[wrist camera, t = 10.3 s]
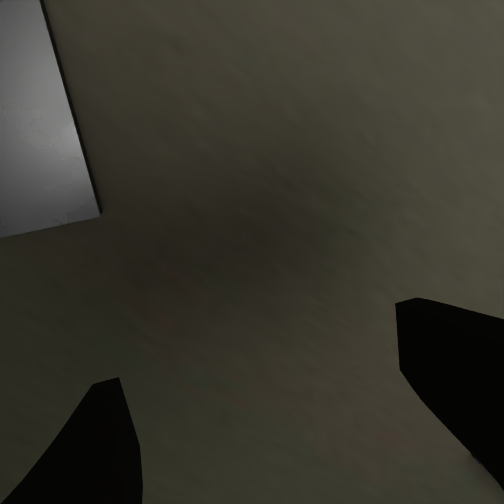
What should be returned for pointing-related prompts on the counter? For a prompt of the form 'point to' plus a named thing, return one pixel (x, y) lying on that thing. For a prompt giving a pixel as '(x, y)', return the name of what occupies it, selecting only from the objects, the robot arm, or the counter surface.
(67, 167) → the black tray
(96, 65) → the counter surface
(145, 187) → the counter surface
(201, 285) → the counter surface
